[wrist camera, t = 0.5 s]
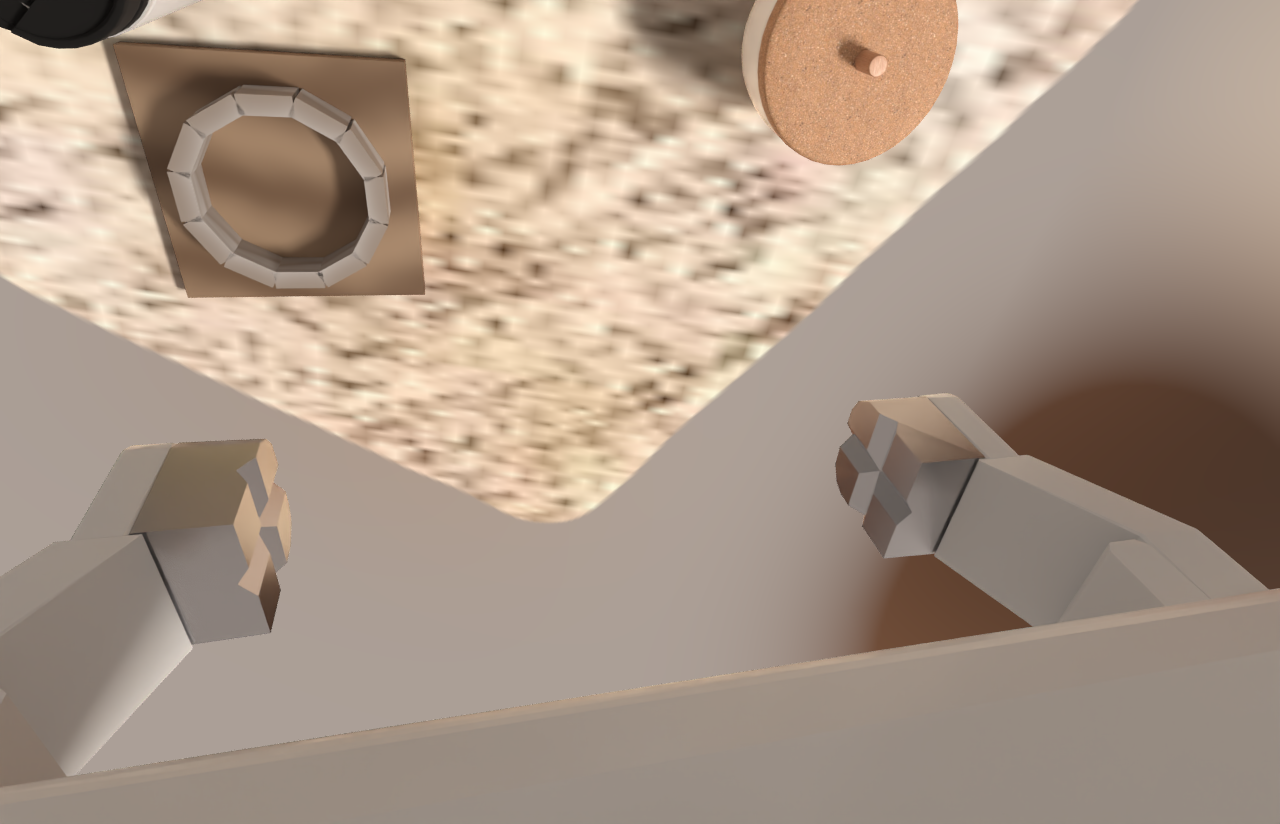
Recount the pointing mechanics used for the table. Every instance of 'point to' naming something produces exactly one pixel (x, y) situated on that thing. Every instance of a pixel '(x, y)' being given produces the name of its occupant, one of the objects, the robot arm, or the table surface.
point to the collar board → (280, 169)
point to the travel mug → (80, 19)
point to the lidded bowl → (847, 71)
